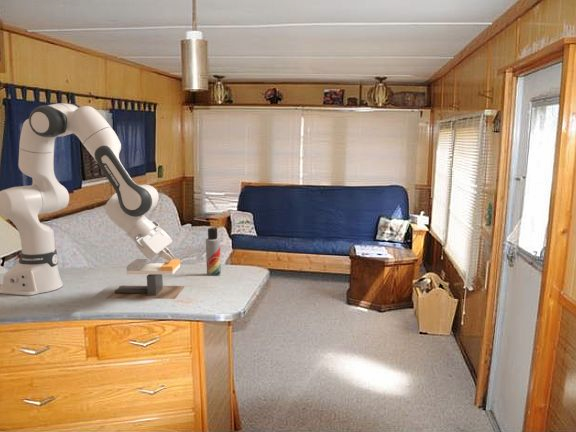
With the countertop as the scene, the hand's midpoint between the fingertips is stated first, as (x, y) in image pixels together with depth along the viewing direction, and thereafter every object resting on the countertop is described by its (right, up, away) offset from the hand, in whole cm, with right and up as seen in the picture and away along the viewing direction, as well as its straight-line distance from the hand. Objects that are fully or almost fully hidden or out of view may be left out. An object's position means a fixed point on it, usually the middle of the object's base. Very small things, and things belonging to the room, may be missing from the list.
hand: (172, 259), depth 173 cm
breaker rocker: (-7, -5, +1) cm, 8 cm away
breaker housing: (-7, -12, +3) cm, 14 cm away
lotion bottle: (+11, -9, +28) cm, 31 cm away
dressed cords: (-14, -12, +3) cm, 19 cm away
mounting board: (-10, -13, +3) cm, 17 cm away
